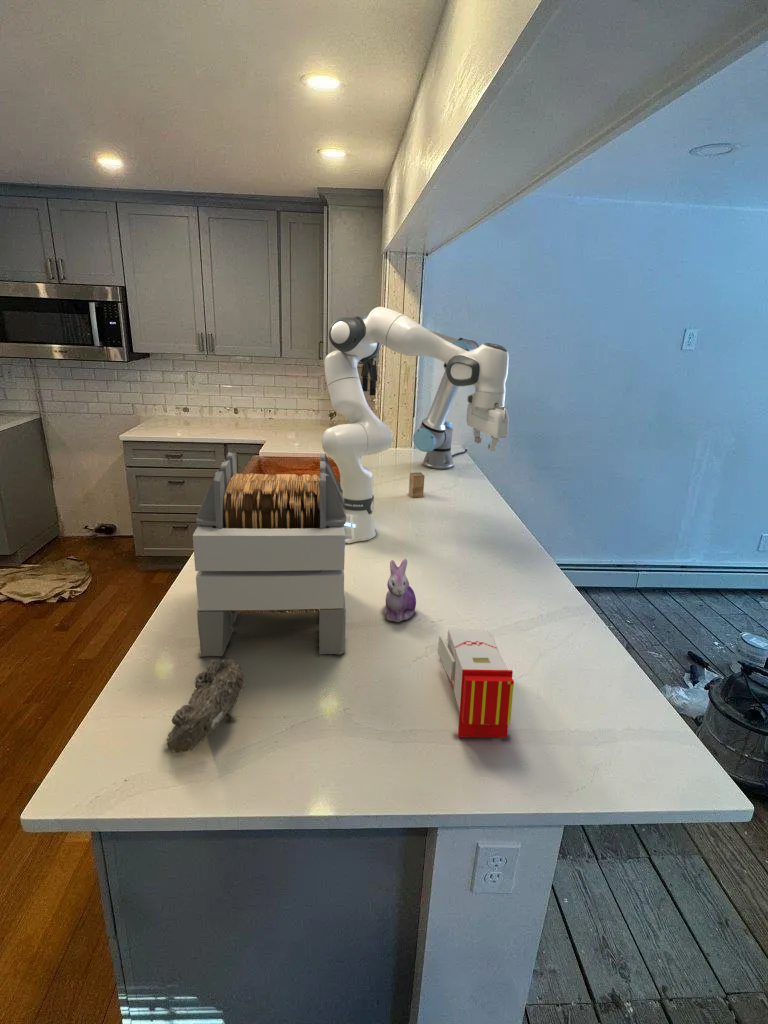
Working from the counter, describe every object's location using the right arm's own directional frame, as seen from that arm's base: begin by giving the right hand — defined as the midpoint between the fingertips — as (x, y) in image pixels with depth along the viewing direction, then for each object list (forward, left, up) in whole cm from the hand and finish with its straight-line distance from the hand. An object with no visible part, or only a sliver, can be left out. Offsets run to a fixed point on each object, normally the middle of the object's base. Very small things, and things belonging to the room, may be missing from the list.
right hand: (368, 393), depth 284 cm
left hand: (+103, +68, +2) cm, 124 cm away
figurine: (+148, +55, -34) cm, 162 cm away
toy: (+174, +76, -34) cm, 193 cm away
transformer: (+161, +26, -34) cm, 166 cm away
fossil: (+198, +30, -34) cm, 203 cm away
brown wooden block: (+49, +37, -34) cm, 71 cm away
